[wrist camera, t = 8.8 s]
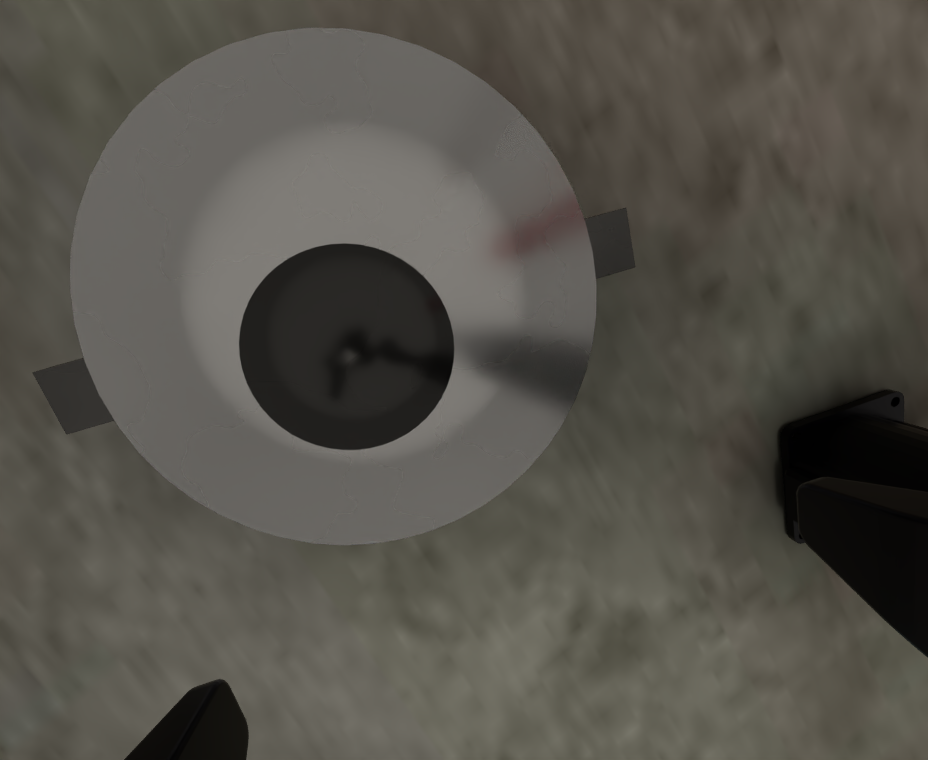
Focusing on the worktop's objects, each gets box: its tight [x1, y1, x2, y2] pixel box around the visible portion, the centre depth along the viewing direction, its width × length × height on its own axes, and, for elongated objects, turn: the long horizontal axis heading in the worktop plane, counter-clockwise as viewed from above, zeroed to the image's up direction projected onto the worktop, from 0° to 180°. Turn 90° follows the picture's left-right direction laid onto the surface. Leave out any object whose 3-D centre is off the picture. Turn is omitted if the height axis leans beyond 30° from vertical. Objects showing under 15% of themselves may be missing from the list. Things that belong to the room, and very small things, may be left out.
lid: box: [70, 28, 596, 545], centre depth 10 cm, size 13×13×6 cm
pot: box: [33, 208, 635, 434], centre depth 15 cm, size 17×12×5 cm
